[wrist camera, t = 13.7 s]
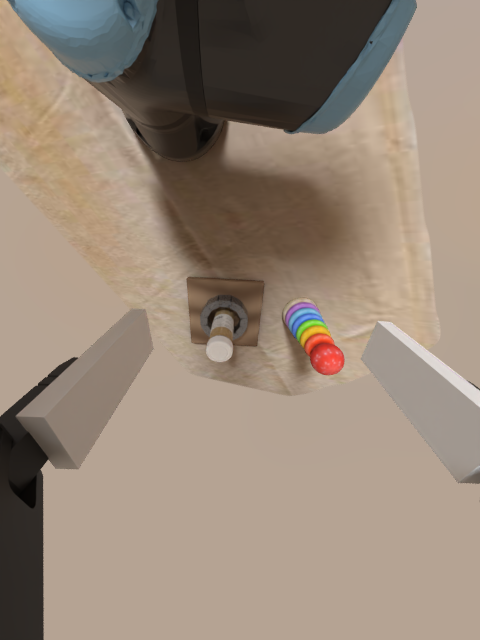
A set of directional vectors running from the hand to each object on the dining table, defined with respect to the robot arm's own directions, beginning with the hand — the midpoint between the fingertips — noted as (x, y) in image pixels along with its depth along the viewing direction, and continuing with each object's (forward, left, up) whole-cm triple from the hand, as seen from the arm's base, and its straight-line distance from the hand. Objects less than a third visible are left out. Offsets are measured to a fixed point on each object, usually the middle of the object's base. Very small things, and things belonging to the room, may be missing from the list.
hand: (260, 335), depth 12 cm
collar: (+15, -4, -30) cm, 34 cm away
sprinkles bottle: (+15, -4, -30) cm, 34 cm away
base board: (+15, -4, -32) cm, 35 cm away
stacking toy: (+14, +13, -32) cm, 37 cm away
